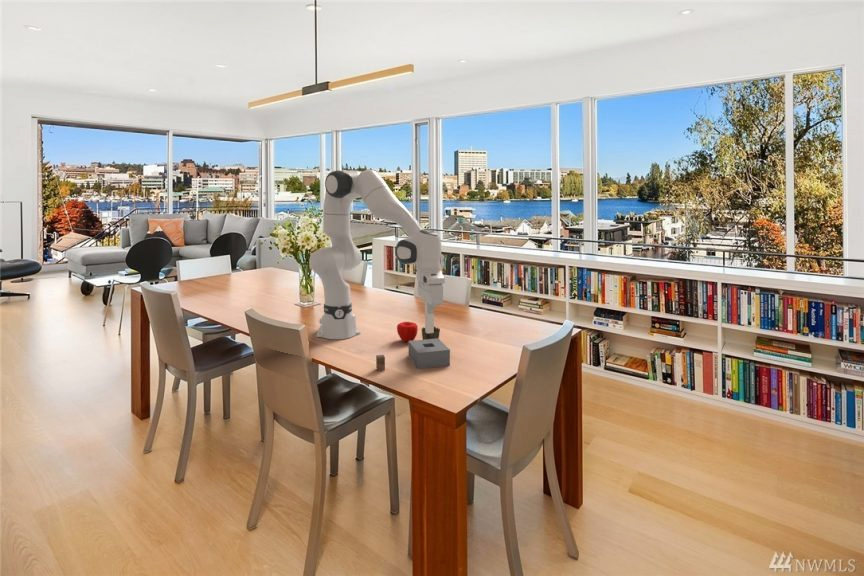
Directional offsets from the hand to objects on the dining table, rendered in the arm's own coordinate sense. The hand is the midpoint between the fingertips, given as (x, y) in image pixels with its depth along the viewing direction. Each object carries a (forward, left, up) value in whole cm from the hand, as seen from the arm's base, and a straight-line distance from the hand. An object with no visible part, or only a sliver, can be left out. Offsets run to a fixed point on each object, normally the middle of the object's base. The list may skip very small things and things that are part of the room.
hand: (429, 312), depth 174 cm
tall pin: (0, 0, -8) cm, 8 cm away
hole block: (0, 0, -19) cm, 19 cm away
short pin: (+4, -19, -19) cm, 27 cm away
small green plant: (-14, +5, -19) cm, 24 cm away
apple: (-25, -2, -19) cm, 32 cm away
